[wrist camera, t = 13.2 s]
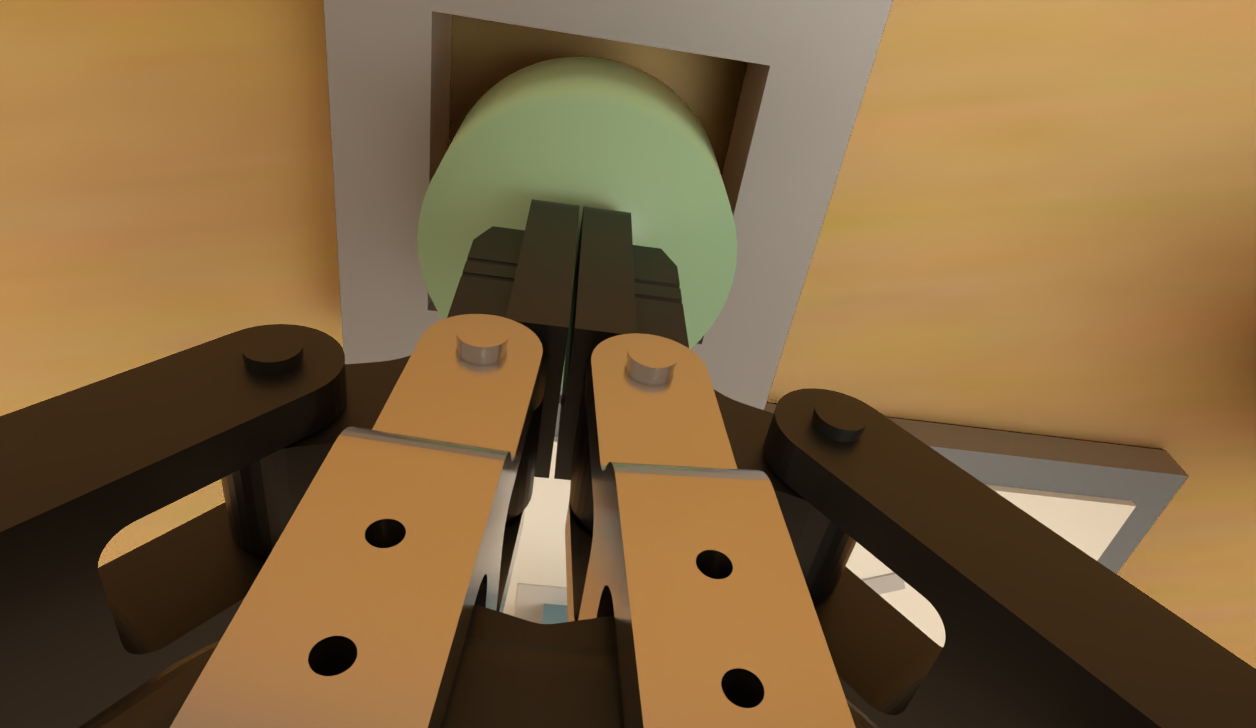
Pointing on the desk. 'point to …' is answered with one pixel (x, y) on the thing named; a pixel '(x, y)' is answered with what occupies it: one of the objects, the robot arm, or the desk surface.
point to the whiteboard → (1004, 461)
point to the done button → (584, 175)
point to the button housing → (620, 11)
